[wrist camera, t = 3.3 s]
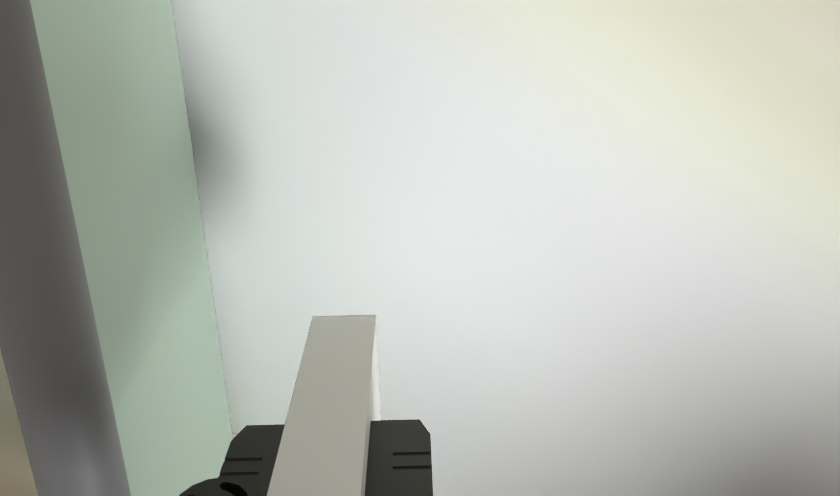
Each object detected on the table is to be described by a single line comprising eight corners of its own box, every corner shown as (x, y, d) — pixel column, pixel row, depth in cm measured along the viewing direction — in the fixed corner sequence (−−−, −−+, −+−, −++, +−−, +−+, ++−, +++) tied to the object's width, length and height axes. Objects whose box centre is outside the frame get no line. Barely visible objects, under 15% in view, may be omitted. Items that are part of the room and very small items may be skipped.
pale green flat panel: (95, -130, 19) (-165, -190, 10) (161, -132, 19) (-45, -194, 10) (208, 553, 26) (112, 841, 18) (255, 552, 26) (181, 838, 18)
